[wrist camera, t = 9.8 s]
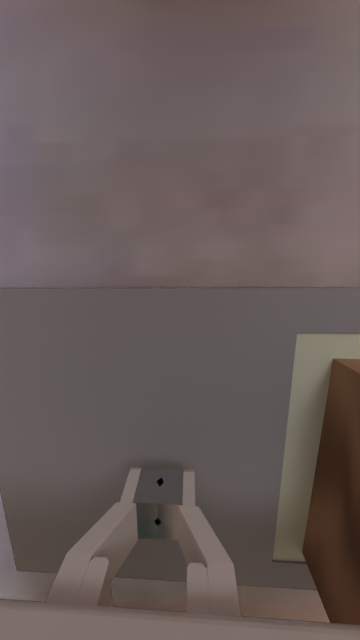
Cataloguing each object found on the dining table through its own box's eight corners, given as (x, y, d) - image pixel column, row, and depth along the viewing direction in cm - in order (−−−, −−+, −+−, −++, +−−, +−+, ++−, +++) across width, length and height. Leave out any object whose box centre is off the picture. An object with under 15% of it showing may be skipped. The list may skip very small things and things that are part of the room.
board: (-19, 288, 11) (-43, 289, 10) (575, 286, 10) (625, 288, 9) (30, 547, 15) (16, 570, 14) (472, 573, 14) (498, 601, 12)
